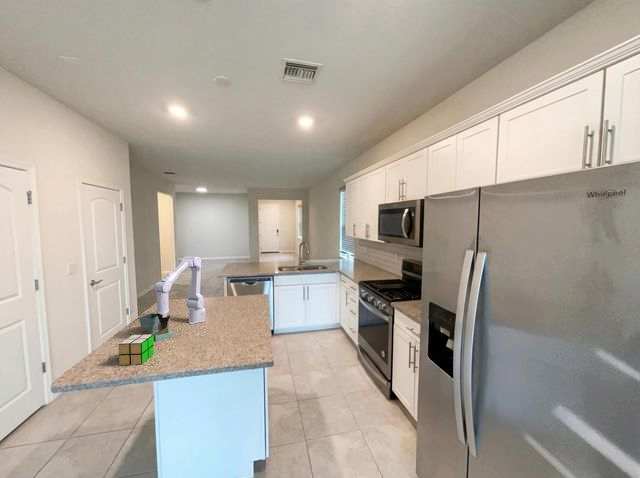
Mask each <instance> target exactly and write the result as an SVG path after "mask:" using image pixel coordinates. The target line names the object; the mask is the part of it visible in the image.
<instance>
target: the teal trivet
mask: <svg viewBox="0 0 640 478" xmlns="http://www.w3.org/2000/svg"><path fill="white" fill-rule="evenodd" d="M168 330H169V333H165V334H161V335H159V333H158V331H157V330H156V331H153V332H154V333H153V335H154V341H155V342H160V341H164V340H170V339H173V338H174V337H173V336H174V335H173V331H172V329H171V328H168Z"/></svg>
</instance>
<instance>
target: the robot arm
mask: <svg viewBox="0 0 640 478" xmlns="http://www.w3.org/2000/svg"><path fill="white" fill-rule="evenodd" d="M187 268H189V269H190V270H191V286H190V287H191V288H190V294H189V295H188V296H187V300H186V303H185V305H186V307H187V308H188V311H189V313H188V316H189V319H188V320H187V322H188V324H189V325H193V324H194V325H195V324H199V323H203V322H206V308H205V307H204V306H205V300H204V295H202V294H201V280H202V278H201V276H202V258H201V257H200V256H190V255H189V256H188V255H185V256H184V257H183V258H182V259H181V260H180V263H179V264H178V265H177V266H176V267H175V269H174V270H173V271H169V272H168V273H167V274H166V276H164V277H163V278H162V279H161V281H158V282H156V283H155V284H154V287H153V291H155V295H156V310H155V311H154V313H155V314H157V315H158V319H159V322H160V323H161V327H162V329H165V328H167V324H168V325H169V320H170V318H171V315H168V313H169V312H170V303H169V302H170V301H169V299H170V298H169V297H170V295H169V292H170V291H171V289H172V286H173V284H174V283H175V282H176V281H177V280H178V278H179V275H180V274H181V273H182V272H183V271H185V270H186V269H187Z"/></svg>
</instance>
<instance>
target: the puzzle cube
mask: <svg viewBox="0 0 640 478" xmlns="http://www.w3.org/2000/svg"><path fill="white" fill-rule="evenodd" d="M154 341H155V337H154V334H131V336H129V337H128V338H127V337H126V339H124V340H123V341H121V342H120V343H118V365H119V366H130V365H131V366H132V365H133V364H138V365H143V364H144V363H145V362H146V361H147V360H148V359H150V358H151V357H152V356H153V355H154V354H155V345H154Z"/></svg>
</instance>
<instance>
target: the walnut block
mask: <svg viewBox="0 0 640 478" xmlns="http://www.w3.org/2000/svg"><path fill="white" fill-rule="evenodd" d="M168 329H169V323H168V324H167V328H165V329H162V327H161V323H160V322H159V323H158V329H157V330H158V333H159V335H161V334H165V333H169V330H168Z"/></svg>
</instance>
